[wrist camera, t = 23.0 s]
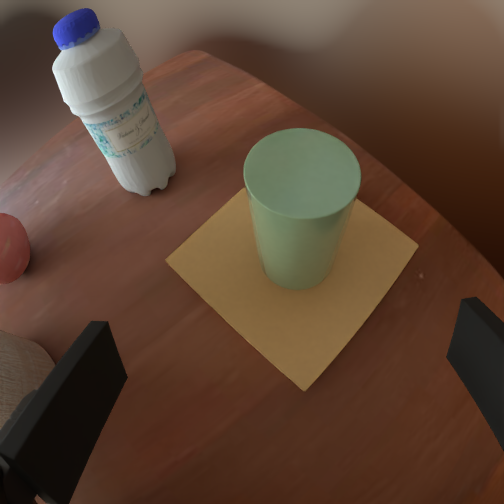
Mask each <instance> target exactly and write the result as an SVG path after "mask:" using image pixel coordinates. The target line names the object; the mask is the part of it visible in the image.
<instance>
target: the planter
mask: <svg viewBox="0 0 504 504" xmlns="http://www.w3.org/2000/svg"><path fill="white" fill-rule="evenodd" d="M55 366H56V365H55V363H54V362H53V360H52V358H51V357H50V355H49V354H48V353H47V352H46V350H45V349H43V348H42V347H41V346H40V345H38V344H37V343H35V342H33V341H31V340H28V339H25V338H22V337H19V336H16V335H13V334H10V333H8V332H5V331H2V330H0V430H1V428H2V427H3V425H4V424H5V422H6V421H7V419H10V415H11V414H12V412H13V411H14V410H16V407H17V406H18V404H19V403H20V401H21V400H22V399H23V398H24V397H25V396H26V395H27V394H29V393H30V392H31V391H33V390H34V389H36V390H38V388H39V387H40V385H41V384H42V383H43V381H44V380H45V379H46V377H47V376H48V375H49V373H50V372H51V371H52V369H53V368H54V367H55Z"/></svg>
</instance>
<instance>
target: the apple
mask: <svg viewBox="0 0 504 504" xmlns="http://www.w3.org/2000/svg"><path fill="white" fill-rule="evenodd" d="M29 259H30V244H29V240H28V236H27V233H26V231H25V229H24V227H23V225H22V224H21V222H20V221H19V220H18V219H17V218H15V217H13V216H11V215H8V214H5V213H0V284H6V283H10V282H13V281H14V280H16V279H17V278H19V277H20V276H21V275H22V273H23V272H24V271H25V269H26V267H27V265H28V263H29Z"/></svg>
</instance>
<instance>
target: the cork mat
mask: <svg viewBox="0 0 504 504" xmlns="http://www.w3.org/2000/svg"><path fill="white" fill-rule="evenodd" d="M418 247H419V245H418V244H417V243H416V242H414V241H413V240H412V239H410V238H409V237H408V236H407V235H405V234H404V233H403V232H401V231H400V230H399V229H398V228H396V227H395V226H394V225H392V224H391V223H390V222H388V221H387V220H386V219H384V218H383V217H382V216H380V215H379V214H378V213H376V212H375V211H373V210H372V209H371V208H369V207H368V206H367V205H365V204H364V203H362V202H361V201H360V200H358V199H357V198H356V201H355V204H354V207H353V210H352V213H351V216H350V219H349V222H348V225H347V228H346V231H345V234H344V237H343V240H342V242H341V245H340V248H339V251H338V254H337V257H336V259H335V262H334V265H333V267H332V270H331V272H330V273H329V275H328V276H327V277H326V278H325V279H324V280H323V281H322V282H321V283H319V284H318V285H316V286H314V287H311V288H308V289H303V290H291V289H286V288H283V287H281V286H278V285H277V284H275V283H273V282H272V281H271V280H270V279H269V278H268V277H267V276H266V275H265V274H264V272H263V270H262V269H261V266H260V263H259V259H258V253H257V248H256V242H255V237H254V231H253V225H252V220H251V214H250V209H249V203H248V198H247V192H246V187H244V188H243V189H242V190H241V191H240V192H238V193H237V194H236V195H235V196H234V197H233V198H232V199H231V200H229V201H228V202H227V203H226V204H225V205H224V206H223V207H222V208H221V209H219V210H218V211H217V212H216V213H215V214H214V215H213V216H212V217H211V218H209V219H208V220H207V221H206V222H205V223H204V224H203V225H202V226H201V227H200V228H199V229H198V230H196V231H195V232H194V233H193V234H192V235H191V236H190V237H189V238H188V239H187V240H186V241H185V242H184V243H182V244H181V245H180V246H179V247H178V248H177V249H176V250H175V251H174V252H173V253H172V254H171V255H170V256H169V257H168V258H167V259H166V260H165V261H166V262H167V263H168V264H169V265H170V266H171V267H172V268H173V269H174V270H175V271H176V272H177V273H178V274H179V275H180V276H181V277H182V278H183V279H184V280H185V281H186V282H187V283H188V284H189V285H190V286H191V287H192V288H193V289H194V290H195V291H196V292H197V293H198V294H199V295H200V296H201V297H202V298H203V299H204V300H205V301H206V302H207V303H208V304H209V305H210V306H211V307H212V308H213V309H214V310H215V311H216V312H217V313H218V314H219V315H220V316H221V317H222V318H223V319H224V320H225V321H226V322H228V323H229V324H230V325H231V326H232V327H233V328H234V329H235V330H236V331H237V332H238V333H239V334H240V335H241V336H242V337H243V338H245V339H246V340H247V341H248V342H249V343H250V344H251V345H252V346H253V347H254V348H255V349H257V350H258V351H259V352H260V353H261V354H262V355H263V356H264V357H265V358H266V359H268V360H269V361H270V362H271V363H272V364H273V365H274V366H275V367H276V368H278V369H279V370H280V371H281V372H282V373H283V374H284V375H286V376H287V377H288V378H289V379H290V380H291V381H292V382H294V383H295V384H296V385H297V386H298V387H299V388H300V389H302V390H303V391H304V392H305V391H306V390H307V389H308V388H309V387H310V386H311V385H312V384H313V382H314V381H315V380H316V379H317V378H318V377H319V376H320V375H321V374H322V372H323V371H324V370H325V369H326V368H327V367H328V366H329V364H330V363H331V362H332V361H333V360H334V359H335V358H336V356H337V355H338V354H339V353H340V352H341V350H342V349H343V348H344V347H345V346H346V344H347V343H348V342H349V341H350V340H351V338H352V337H353V336H354V335H355V333H356V332H357V331H358V330H359V328H360V327H361V326H362V325H363V323H364V322H365V321H366V320H367V318H368V317H369V316H370V314H371V313H372V312H373V310H374V309H375V308H376V306H377V305H378V304H379V302H380V301H381V300H382V298H383V297H384V296H385V294H386V293H387V292H388V290H389V289H390V287H391V286H392V285H393V283H394V282H395V280H396V279H397V278H398V276H399V275H400V273H401V272H402V270H403V269H404V268H405V266H406V265H407V263H408V262H409V260H410V259H411V257H412V256H413V254H414V253H415V251H416V250H417V248H418Z"/></svg>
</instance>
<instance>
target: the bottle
mask: <svg viewBox="0 0 504 504" xmlns="http://www.w3.org/2000/svg"><path fill="white" fill-rule="evenodd" d="M53 36H54V39H55V41H56V43H57V45H58V47H59V48H60V50H63V51H62V52H61V53H60V55H59V56H58V57H57V59H56V60H55V62H54V64H53V68H52V69H53V73H54V75H55V78H56V80H57V83H58V86H59V88H60V91H61V94H62V96H63V100H64V101H65V103H66V104H68V105H69V106H70V109H71V111H72V113H74V114H75V115H77V116H79V117H80V118H81V120H82V121H83V123H84V125H85V126H86V128H87V129H88V131H89V133H90V134H91V136H92V137H93V139H94V141H95V142H96V144H97V145H98V147H99V148H100V150H101V151H102V153H103V154H104V156H105V158H106V159H107V161H108V163H109V165H110V167H111V169H112V171H113V173H114V174H115V176H116V178H117V179H118V181H119V182H120V184H121V185H122V186H123V187H124V188H125V189H126V190H127V191H128V192H131V193H138V194H140V195H142V196H149V195H150V194H151V190H152V189H154V188H160V189H161V190H163V189H164V188H165V187H166V186H167V183H168V178H169V177H171V176H173V175H174V174H175V170H176V162H175V158H174V153H173V151H172V148H171V146H170V144H169V142H168V140H167V138H166V136H165V134H164V132H163V131H162V129H161V127H160V125H159V123H158V120H157V117H156V115H155V112H154V110H153V108H152V105H151V103H150V100H149V98H148V95H147V93H146V90H145V88H144V85H143V83H142V77H143V72H142V69H141V68H140V67H139V59H138V57H137V56H136V54H135V52H134V51H133V49H132V47H131V46H130V44H129V42H128V41H127V39H126V37H125V35H124V34H123V32H122V31H121V30H120V29H117V28H106V29H100V25H99V21H98V19H97V16H96V14H95V13H94V11H93V10H91V9H88V8H84V9H80V10H77V11H74V12H72V13H70V14H68V15H66V16H65V17H64V18H62V19H61V20H60V21H59V22H58V23H57V24H56V25H55V27H54V29H53Z"/></svg>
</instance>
